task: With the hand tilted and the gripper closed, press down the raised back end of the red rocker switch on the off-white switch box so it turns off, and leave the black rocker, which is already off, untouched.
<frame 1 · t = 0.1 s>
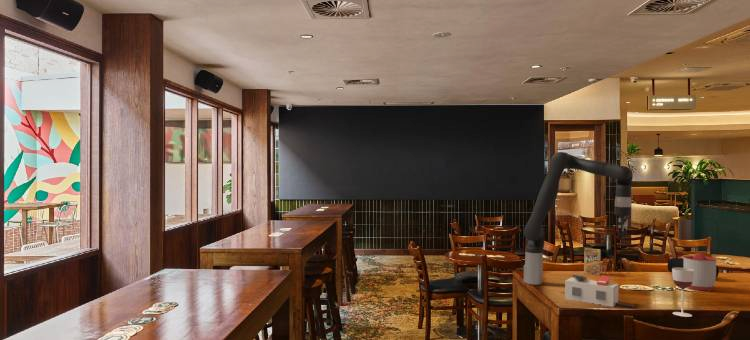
hand: (622, 238, 262), 29 cm above the table, tool pointing down, fingers open, 8 cm apart
portable speaker: (692, 277, 316), on the table
switch box: (591, 300, 252), on the table
candy box: (592, 274, 319), on the table
wineglass: (682, 314, 231), on the table
black rocker: (579, 278, 255), point 10 cm above the table, hinge at -14.0°
red rocker: (603, 281, 249), point 10 cm above the table, hinge at 14.0°
citrus juicer: (699, 289, 283), on the table
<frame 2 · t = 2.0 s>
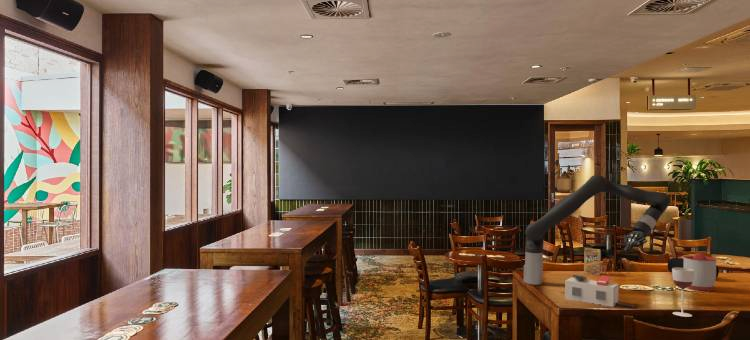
hand: (626, 251, 257), 23 cm above the table, tool tilted 45°, fingers closed
nothing on the table moved.
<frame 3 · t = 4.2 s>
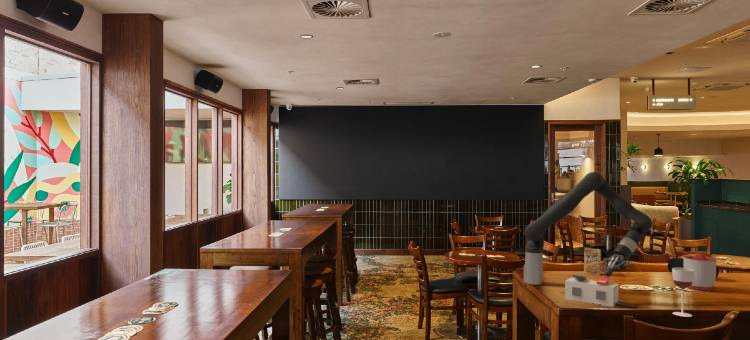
hand: (606, 275, 252), 12 cm above the table, tool tilted 45°, fingers closed
red rocker: (603, 281, 249), point 10 cm above the table, hinge at 11.0°, touching gripper
everything else where it was.
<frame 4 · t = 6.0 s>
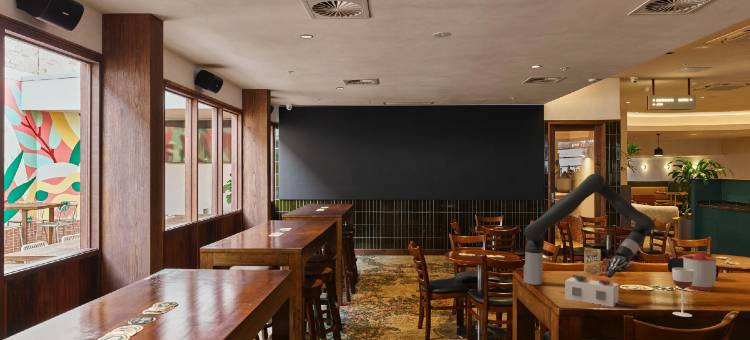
hand: (607, 276, 252), 12 cm above the table, tool tilted 45°, fingers closed
red rocker: (603, 281, 249), point 10 cm above the table, hinge at -16.0°, touching switch box
everything else where it was.
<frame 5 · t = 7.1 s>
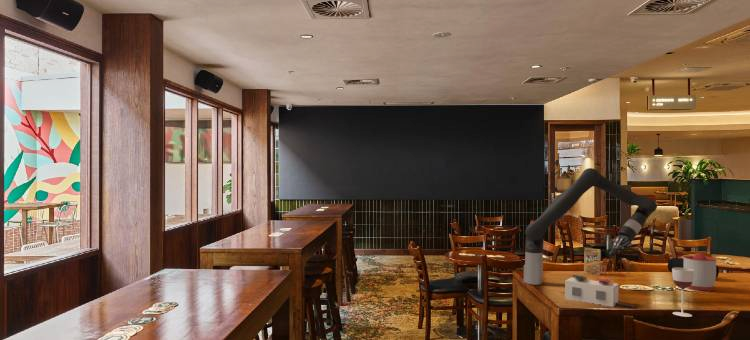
hand: (610, 255, 261), 21 cm above the table, tool tilted 45°, fingers closed
red rocker: (603, 281, 249), point 10 cm above the table, hinge at -13.1°
everything else where it was.
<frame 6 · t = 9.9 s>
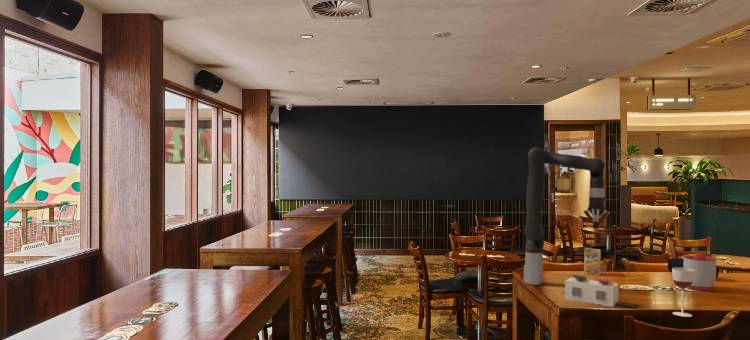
hand: (596, 228, 280), 32 cm above the table, tool pointing down, fingers closed
red rocker: (603, 281, 249), point 10 cm above the table, hinge at -11.4°
everything else where it was.
at the end: red rocker at -11° (first picture: +14°); black rocker at -14° (first picture: -14°); wineglass moved 0.2 cm from its start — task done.
